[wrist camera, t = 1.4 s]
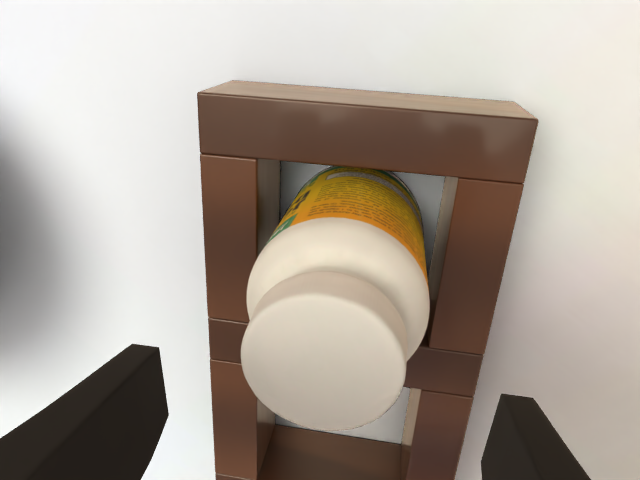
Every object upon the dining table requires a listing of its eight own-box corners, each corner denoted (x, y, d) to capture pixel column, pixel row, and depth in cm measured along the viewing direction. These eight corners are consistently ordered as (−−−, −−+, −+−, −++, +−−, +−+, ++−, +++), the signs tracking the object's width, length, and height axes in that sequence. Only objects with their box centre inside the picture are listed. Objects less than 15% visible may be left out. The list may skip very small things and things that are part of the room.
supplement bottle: (400, 293, 21) (398, 479, 13) (282, 261, 22) (199, 421, 13) (440, 177, 19) (469, 307, 10) (306, 143, 19) (226, 242, 11)
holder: (435, 479, 25) (439, 544, 22) (238, 446, 27) (216, 503, 23) (515, 101, 18) (539, 119, 14) (231, 79, 19) (196, 92, 16)
